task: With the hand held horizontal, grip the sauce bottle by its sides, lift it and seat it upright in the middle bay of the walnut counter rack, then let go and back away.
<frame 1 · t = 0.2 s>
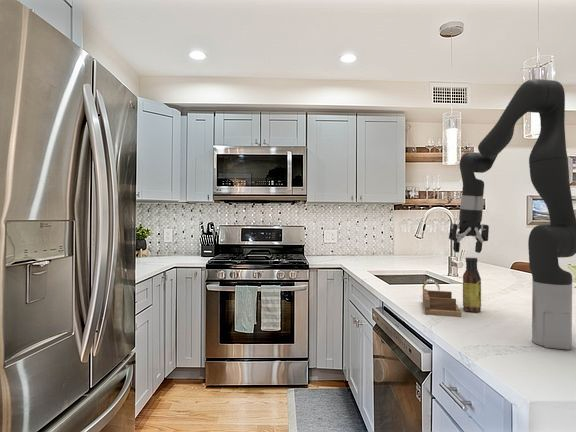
hand: (467, 252, 144), 22 cm above the table, tool pointing down, fingers open, 8 cm apart
rack: (440, 309, 150), on the table
sauce bottle: (471, 311, 148), on the table
ring: (431, 297, 171), on the table
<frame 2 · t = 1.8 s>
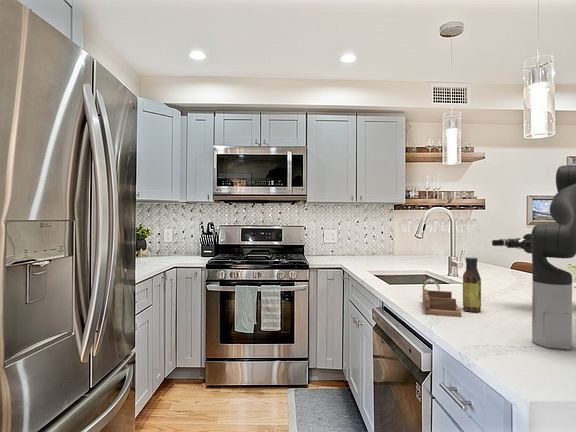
hand: (499, 243, 149), 25 cm above the table, tool horizontal, fingers open, 8 cm apart
nothing on the table moved.
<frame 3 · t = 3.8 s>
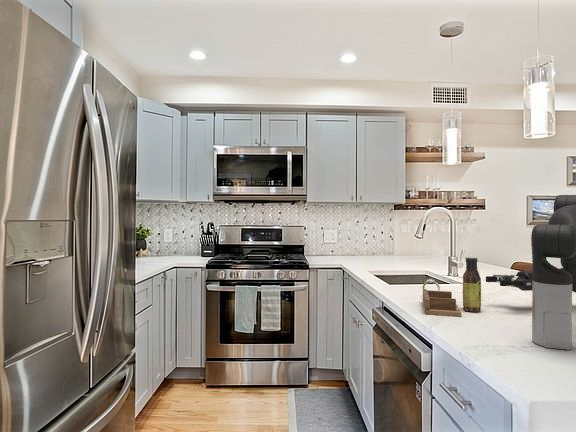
hand: (493, 281, 148), 11 cm above the table, tool horizontal, fingers open, 8 cm apart
nothing on the table moved.
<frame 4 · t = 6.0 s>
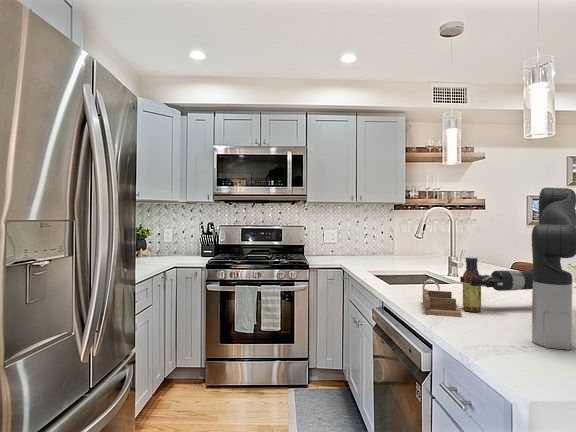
hand: (465, 281, 147), 11 cm above the table, tool horizontal, fingers closed on sauce bottle, 6 cm apart
sauce bottle: (471, 311, 147), on the table, touching gripper
everything else where it was.
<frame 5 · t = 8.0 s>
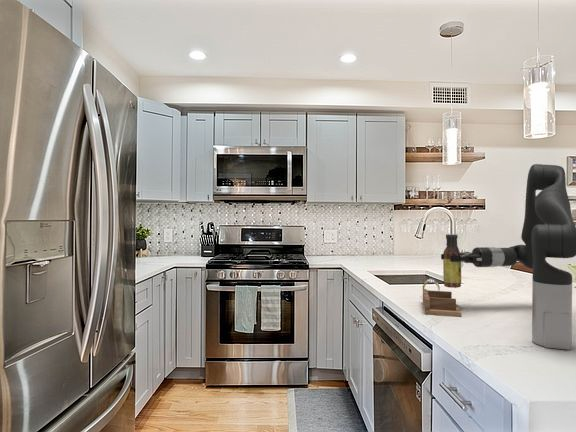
hand: (446, 257, 149), 20 cm above the table, tool horizontal, fingers closed on sauce bottle, 6 cm apart
sauce bottle: (452, 287, 149), point 8 cm above the table, touching gripper
everything else where it was.
when the fingers open (14 cm above the table, at t = 9.9 s): sauce bottle drops 1 cm, resting on rack.
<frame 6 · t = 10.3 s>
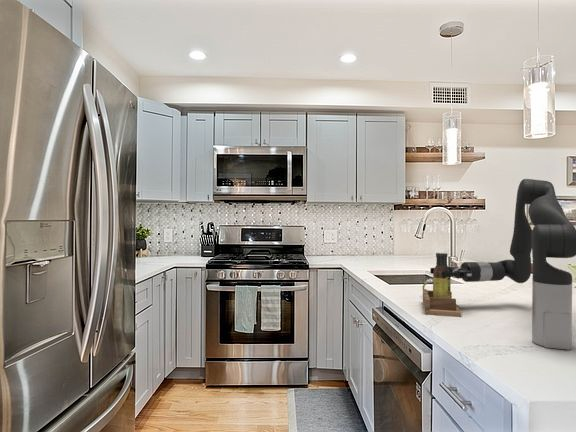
hand: (436, 272, 149), 14 cm above the table, tool horizontal, fingers open, 8 cm apart
sauce bottle: (441, 305, 149), point 1 cm above the table, touching rack
everything else where it was.
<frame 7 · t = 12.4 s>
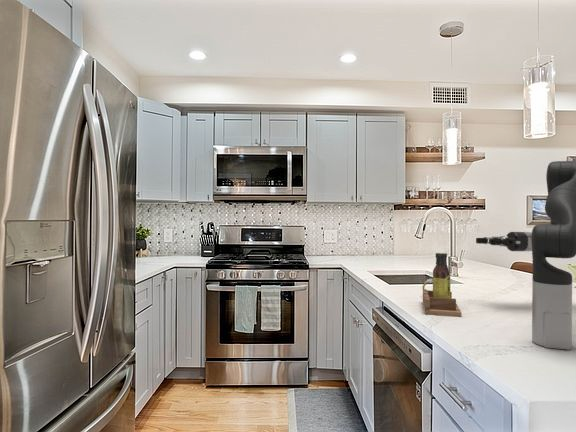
hand: (483, 241, 150), 26 cm above the table, tool horizontal, fingers open, 8 cm apart
nothing on the table moved.
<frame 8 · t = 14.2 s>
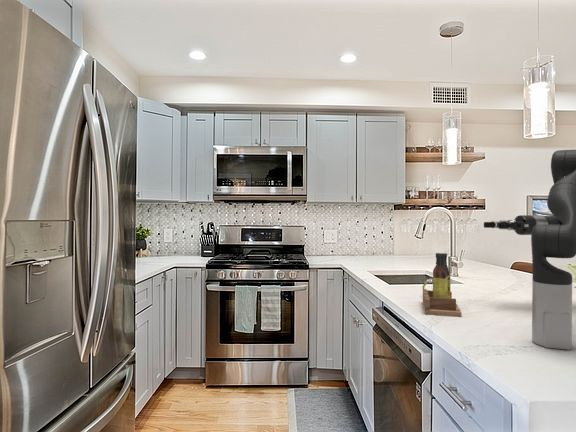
hand: (491, 225, 149), 32 cm above the table, tool horizontal, fingers open, 8 cm apart
nothing on the table moved.
at the end: sauce bottle inside the target area on the rack (0.2 cm from its centre), point 1.3 cm above the rack's base; sauce bottle tilted 0°; the gripper is holding nothing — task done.
